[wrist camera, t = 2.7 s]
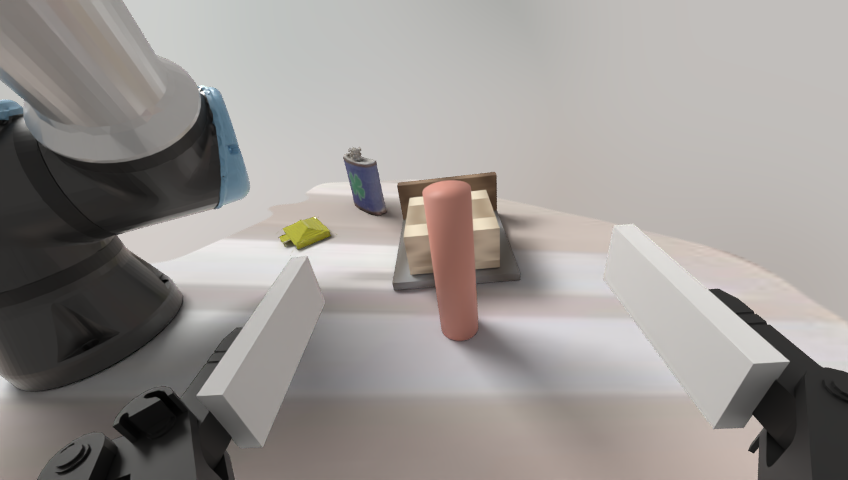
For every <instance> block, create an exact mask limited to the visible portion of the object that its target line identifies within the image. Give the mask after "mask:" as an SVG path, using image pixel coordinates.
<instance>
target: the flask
mask: <svg viewBox="0 0 848 480" xmlns="http://www.w3.org/2000/svg"><path fill="white" fill-rule="evenodd" d="M348 151H349V152H350V151H351V153H347V154H345V155H344V157H343V159H344V162H345V166H346V170H347V174H348V178H349V182H350V186H351V190H352V194H353V199H354V204H355V205H356V206H357V207H358V208H359V209H361V210H363V211H365V212H367V213H369V214H371V215H377V216H379V215H382V214H381V213H386V207H385V202H384V197H383V193H382V189H381V184H380V179H379V173H378V169H377V163H376V161H375V160H371V159H367V158H364V157H361V153H360V151H361V148H360V147H359V148H358V149H356V148H354V147H353V148H352V150H351V148H349V149H348ZM380 212H381V213H380Z"/></svg>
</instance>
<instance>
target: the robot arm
mask: <svg viewBox="0 0 848 480" xmlns="http://www.w3.org/2000/svg"><path fill="white" fill-rule="evenodd" d="M0 80H1V81H2V82H3V83H5V84H6V85H7V86H8V87H10V88H11V89H12V90H13V91H14V92H15V93H17V94H18V95H19V96H20V97H21V98H23V99H24V100H25V102H24V107H23V108H22V107H21V106H20V105H19V104H18V103H16V102H14V101H12V100H0V375H1V376H2V377H3V378H5V379H6V380H7V381H9V382H10V383H11V384H13V385H14V386H15V387H17V388H18V389H21V390H25V391H41V390H47V389H52V388H56V387H60V386H64V385H67V384H70V383H73V382H76V381H78V380H81V379H83V378H86V377H88V376H91V375H93V374H95V373H97V372H99V371H101V370H103V369H105V368H107V367H109V366H111V365H113V364H115V363H116V362H118V361H120V360H122V359H123V358H125V357H127V356H128V355H130V354H131V353H133V352H134V351H136V350H137V349H139V348H140V347H142V346H143V345H144V344H146V343H147V342H148V341H150V340H151V339H152V338H153V337H155V336H156V335H157V334H158V333H159V332H160V331H162V330H163V329H164V328H165V327H166V326H167V325H168V324H169V322H170V321H171V320H172V319H173V318H174V316H175V315H176V314H177V312H178V310H179V309H180V307H181V304H182V294H181V292H180V291H179V289H178V288H177V286H176V285H175V283H174V282H173V281H172V280H171V279H170V278H169V277H168V276H166V275H165V274H163V273H162V272H160V271H159V270H158V269H156V268H155V267H153V266H152V265H150V264H149V263H147V262H146V261H144V260H143V259H141V258H140V257H138V256H137V255H135V254H134V253H132V252H131V251H129V250H128V249H127V248H126V247H125V246H124V244H123V243H122V242H121V240H120V239H119V238H118V236H117V235H118V234H122V233H125V232H129V231H132V230H136V229H139V228H143V227H147V226H150V225H154V224H158V223H162V222H166V221H169V220H173V219H177V218H181V217H185V216H188V215H192V214H196V213H200V212H204V211H207V210H211V209H219V208H221V207H222V206H223V205H225V204H228V203H231V202H234V201H237V200H240V199H242V198H244V197H245V196H246V195H247V194H248V192H249V190H250V183H249V178H248V174H247V171H246V167H245V164H244V161H243V157H242V154H241V151H240V149H239V147H238V142H237V139H236V135H235V132H234V129H233V126H232V123H231V120H230V117H229V114H228V111H227V109H226V106H225V103H224V100H223V98H222V95H221V93H220V92H219V91H218V90H217V89H216V88H213V87H205V86H197V85H196V83H195V82H194V80H193V79H192V78H191V76H190V75H189V74H188V73H187V72H186V71H185V70H184V69H183V68H182V67H180V66H179V65H177V64H175V63H174V62H172V61H170V60H168V59H166V58H163V57H160V56H158V55H156V54H155V53H154V51H153V49H152V48H151V46H150V44H149V43H148V41H147V40H146V38H145V37H144V35H143V33H142V32H141V30H140V28H139V27H138V25H137V23H136V22H135V20H134V19H133V17H132V15H131V14H130V12H129V11H128V9H127V7H126V6H125V4H124V2H123V1H122V0H0ZM603 280H604V281H605V282H606V284H607V285H608V286H609V288H610V289H611V290H612V292H613V293H614V294H615V296H616V297H617V299H618V300H619V301H620V303H621V304H622V305H623V307H624V308H625V309H626V311H627V312H628V314H629V315H630V316H631V318H632V319H633V320H634V322H635V323H636V324H637V326H638V327H639V328H640V330H641V331H642V333H643V334H644V335H645V337H646V338H647V339H648V341H649V342H650V343H651V345H652V346H653V348H654V349H655V350H656V352H657V353H658V354H659V356H660V357H661V358H662V360H663V361H664V362H665V364H666V365H667V367H668V368H669V369H670V371H671V372H672V373H673V375H674V376H675V377H676V379H677V380H678V382H679V383H680V384H681V386H682V387H683V388H684V390H685V391H686V392H687V394H688V395H689V396H690V398H691V399H692V401H693V402H694V403H695V405H696V406H697V407H698V409H699V410H700V411H701V413H702V414H703V416H704V417H705V418H706V420H707V421H708V422H709V424H710V425H711V426H712V428H713V429H724V428H744V426H745V425H746V424H747V422H748V421H749V419H750V418H751V416H752V415H754V417H755V418H756V419H757V420H758V421H759V422H760V423H761V425H762V426H763V427H764V428H763V429H762V431H761V432H760V433H759V434H758V436H757V437H756V438H755V440H754V441H753V442H752V444H751V445H750V448H749V450H748V451H750V452H752V453H755V451H756V450H757V449H758V447H759V463H758V480H848V373H847V372H844V371H840V370H836V369H832V368H823V367H821V366H820V365H818V364H817V363H816V362H815V361H813V360H812V359H811V358H810V357H809V356H807V355H806V354H805V353H804V352H803V351H801V350H800V349H799V348H798V347H796V346H795V345H794V344H793V343H792V342H790V341H789V340H788V339H787V338H785V337H784V336H783V335H782V334H781V333H779V332H778V331H777V330H776V329H774V328H773V327H772V326H771V325H767V323H766V321H765V320H764V319H762V318H761V317H760V316H759V315H757V314H754V311H753V310H751V309H750V308H749V307H748V306H746V305H745V304H744V303H743V302H742V301H740V300H739V299H738V298H736V297H734V296H732V295H730V294H728V293H726V292H724V291H722V290H720V289H709V290H708V289H707V288H706V287H704V286H703V285H702V284H701V283H700V282H699V281H698V280H696V279H695V278H694V277H693V276H692V275H691V274H690V273H688V272H687V271H686V270H685V269H684V268H683V267H682V266H681V265H679V264H678V263H677V262H676V261H675V260H674V259H673V258H671V257H670V256H669V255H668V254H667V253H666V252H665V251H663V250H662V249H661V248H660V247H659V246H658V245H657V244H655V243H654V242H653V241H652V240H651V239H650V238H649V237H647V236H646V235H645V234H644V233H643V232H642V231H641V230H639V229H638V228H637V227H636V226H635V225H634V224H626V225H616V226H613V230H612V235H611V240H610V245H609V250H608V255H607V260H606V265H605V271H604V276H603ZM324 304H325V300H324V297H323V295H322V292H321V290H320V287H319V284H318V282H317V279H316V277H315V274H314V272H313V269H312V267H311V264H310V261H309V259H308V256H304V257H294V258H291V259H290V260H289V262H288V263H287V265H286V266H285V268H284V269H283V270H282V272H281V273H280V275H279V276H278V278H277V279H276V281H275V282H274V284H273V285H272V286H271V288H270V289H269V291H268V292H267V294H266V295H265V297H264V298H263V300H262V301H261V302H260V304H259V305H258V307H257V308H256V310H255V311H254V313H253V314H252V316H251V317H250V318H249V320H248V321H247V323H246V324H245V326H244V327H240V328H236V329H235V330H233V331H232V332H231V333H230V334H229V335H228V336H226V337H225V338H224V339H223V340H222V342H221V343H220V345H219V346H218V347H217V349H216V350H215V353H214V354H212V356H211V357H210V358H209V360H208V361H207V364H205V365H204V367H203V368H202V369H201V371H200V372H199V373H198V375H197V376H196V378H195V379H194V380H193V382H192V383H191V384H190V386H189V387H188V388H187V390H186V391H185V393H184V394H183V395H182V397H181V398H179V397H178V396H177V395H176V394H175V393H174V391H173V390H172V389H171V388H169V387H166V386H161V387H155V388H153V389H150V390H148V391H146V392H144V393H142V394H141V395H139V396H137V397H136V398H134V399H133V400H132V401H131V402H130V403H128V404H127V405H126V406H125V407H124V408H123V409H122V410H121V412H120V413H119V414H118V416H117V417H116V419H115V421H114V424H113V427H114V428H115V429H116V430H117V431H118V432H120V433H121V434H122V435H123V436H121V437H119V438H116V439H113V440H110V439H109V438H108V437H106V436H105V435H104V434H103V433H100V432H93V433H89V434H86V435H83V436H81V437H79V438H77V439H76V440H74V441H72V442H71V443H69V444H68V445H66V446H65V447H64V448H62V449H61V450H60V451H59V452H58V453H57V454H56V455H55V456H54V457H53V458H52V459H50V460H49V462H48V463H47V464H46V466H45V467H44V469H43V470H42V471H41V473H40V475H39V477H38V479H37V480H235V478H234V474H233V469H232V465H231V460H230V456H229V454H228V453H227V451H226V448H227V446H228V444H229V443H230V441H231V439H232V440H233V441H234V442H235V443H236V444H237V446H238V447H239V448H261V447H263V446H264V443H265V441H266V439H267V436H268V434H269V432H270V429H271V427H272V425H273V423H274V420H275V418H276V416H277V413H278V411H279V409H280V406H281V404H282V402H283V399H284V397H285V395H286V392H287V390H288V388H289V385H290V383H291V381H292V378H293V376H294V374H295V372H296V369H297V367H298V365H299V362H300V360H301V358H302V355H303V353H304V351H305V348H306V346H307V344H308V341H309V339H310V337H311V334H312V332H313V330H314V327H315V325H316V323H317V321H318V318H319V316H320V314H321V311H322V309H323V307H324Z"/></svg>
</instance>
